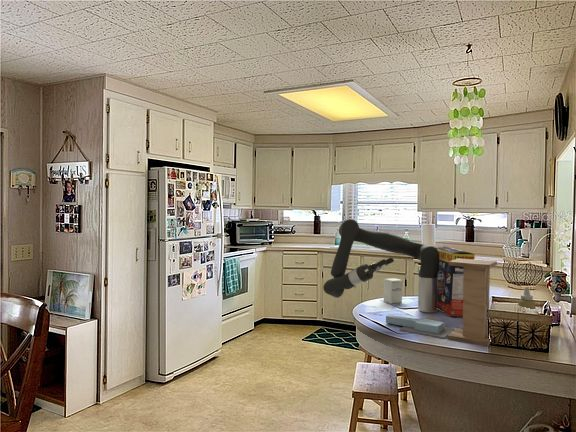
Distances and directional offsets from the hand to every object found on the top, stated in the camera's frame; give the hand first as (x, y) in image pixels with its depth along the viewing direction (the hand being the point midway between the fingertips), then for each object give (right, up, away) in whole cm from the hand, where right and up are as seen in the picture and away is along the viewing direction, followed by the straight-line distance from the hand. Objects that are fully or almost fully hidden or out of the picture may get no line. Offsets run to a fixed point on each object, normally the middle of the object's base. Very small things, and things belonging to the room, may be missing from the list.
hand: (389, 260), depth 194 cm
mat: (+14, -29, -9) cm, 34 cm away
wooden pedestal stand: (+28, -29, -20) cm, 46 cm away
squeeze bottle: (+59, -29, -5) cm, 66 cm away
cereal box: (+37, -29, +24) cm, 53 cm away
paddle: (+9, -28, -6) cm, 30 cm away
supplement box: (+12, -28, +45) cm, 54 cm away
